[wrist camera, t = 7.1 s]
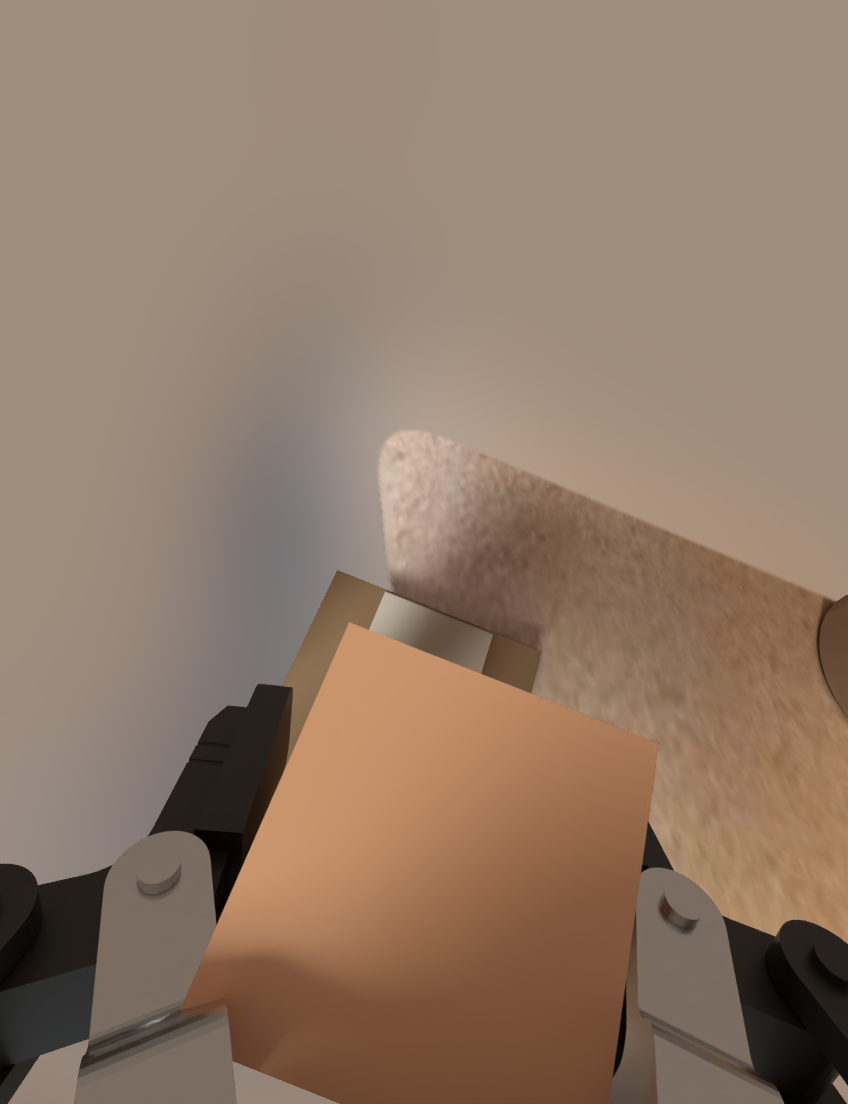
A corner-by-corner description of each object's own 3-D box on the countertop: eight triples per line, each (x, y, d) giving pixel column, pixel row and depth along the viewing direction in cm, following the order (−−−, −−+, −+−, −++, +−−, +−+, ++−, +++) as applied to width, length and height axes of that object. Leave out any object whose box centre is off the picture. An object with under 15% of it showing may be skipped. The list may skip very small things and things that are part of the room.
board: (532, 657, 24) (604, 614, 17) (462, 923, 19) (524, 1003, 13) (337, 579, 24) (336, 507, 17) (220, 826, 19) (158, 855, 13)
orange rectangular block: (487, 755, 15) (658, 743, 7) (439, 932, 13) (594, 1204, 5) (346, 699, 15) (349, 621, 7) (277, 867, 13) (169, 1035, 5)
